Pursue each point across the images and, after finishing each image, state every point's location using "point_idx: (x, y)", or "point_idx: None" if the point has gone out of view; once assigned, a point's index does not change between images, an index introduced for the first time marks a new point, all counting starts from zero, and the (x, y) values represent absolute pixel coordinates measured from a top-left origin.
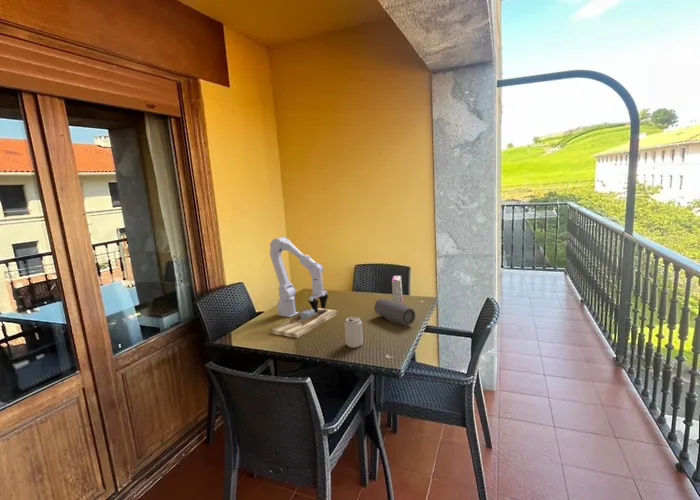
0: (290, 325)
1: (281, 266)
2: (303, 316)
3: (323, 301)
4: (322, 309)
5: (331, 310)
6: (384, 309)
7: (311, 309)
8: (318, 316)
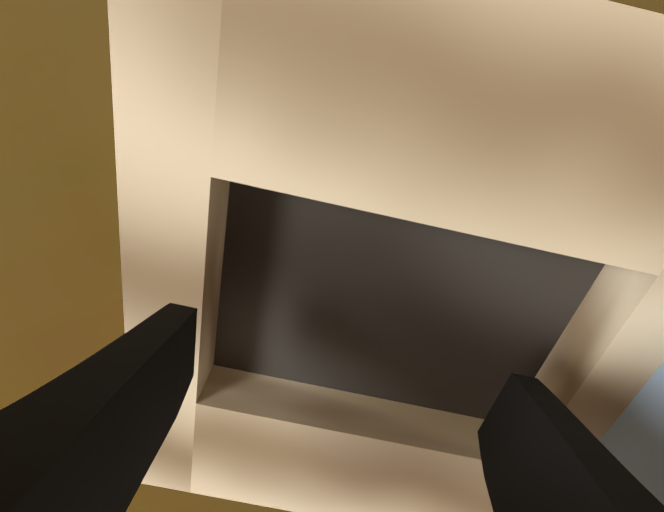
0: None
1: None
2: None
3: (81, 499)
4: None
5: (169, 104)
6: None
7: (230, 487)
8: (661, 274)
